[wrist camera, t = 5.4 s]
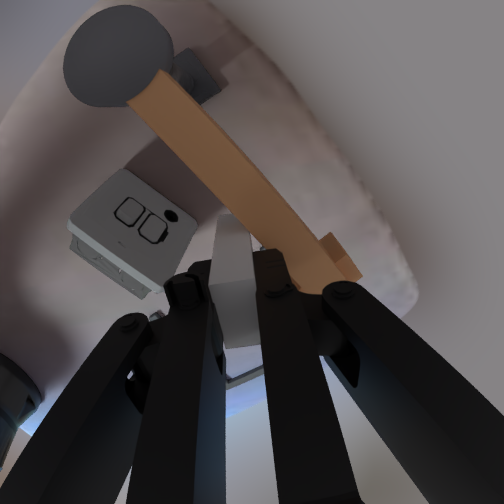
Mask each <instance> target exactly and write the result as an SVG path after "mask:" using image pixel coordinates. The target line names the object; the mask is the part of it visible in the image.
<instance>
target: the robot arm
mask: <svg viewBox="0 0 504 504" xmlns="http://www.w3.org/2000/svg"><path fill="white" fill-rule="evenodd" d="M163 288H164V291H165V294H166V296H167V299H168V302H169V305H170V309H169V313H168V315H166V316H164V317H161V318H159V319H156V320H153V321H149V320H148V318H147V316H146V315H144V314H142V313H130V314H126V315H124V316H123V317H121V318H119V319H118V320H117V321H116V322H115V323H114V324H113V325H112V326H111V327H110V329H109V330H108V331H107V332H106V334H105V335H104V336H103V338H102V339H101V340H100V342H99V343H98V344H97V346H96V347H95V348H94V349H93V351H92V352H91V353H90V355H89V356H88V357H87V359H86V360H85V361H84V363H83V364H82V365H81V367H80V368H79V370H78V371H77V372H76V374H75V375H74V376H73V378H72V379H71V381H70V382H69V383H68V385H67V386H66V387H65V389H64V390H63V392H62V393H61V395H60V396H59V397H58V399H57V400H56V402H55V403H54V405H53V406H52V407H51V409H50V410H49V412H48V413H47V415H46V416H45V418H44V419H43V421H42V422H41V424H40V425H39V427H38V428H37V430H36V431H35V433H34V434H33V436H32V437H31V439H30V440H29V442H28V443H27V445H26V447H25V448H24V450H23V451H22V453H21V455H20V456H19V458H18V459H17V461H16V463H15V464H14V466H13V467H12V469H11V471H10V472H9V474H8V476H7V477H6V479H5V481H4V483H3V484H2V486H1V488H0V504H114V503H115V501H116V499H117V497H118V495H119V492H120V490H121V488H122V486H123V484H124V482H125V479H126V477H127V475H128V473H129V471H130V469H131V466H132V470H131V476H130V482H129V487H128V493H127V499H126V504H226V466H225V465H226V461H225V460H226V458H225V413H226V357H225V354H224V350H223V341H224V344H225V348H226V349H230V348H238V347H245V346H252V345H259V344H261V350H262V359H263V368H264V376H265V385H266V394H267V403H268V412H269V420H270V429H271V438H272V446H273V454H274V463H275V472H276V481H277V490H278V498H279V504H365V503H364V502H363V501H362V500H361V498H360V496H359V492H358V489H357V485H356V482H355V478H354V474H353V471H352V467H351V464H350V460H349V456H348V452H347V449H346V445H345V442H344V438H343V435H342V432H341V428H340V424H339V421H338V418H337V414H336V411H335V407H334V404H333V401H332V397H331V394H330V391H329V387H328V384H327V381H326V377H325V374H324V371H323V368H322V364H321V361H320V358H319V356H323V357H324V359H325V361H326V363H327V364H328V365H329V367H330V368H331V370H332V371H333V372H334V374H335V375H336V376H337V378H338V379H339V381H340V382H341V383H342V385H343V386H344V387H345V389H346V390H347V392H348V393H349V394H350V396H351V397H352V399H353V400H354V401H355V402H356V404H357V405H358V407H359V408H360V409H361V411H362V412H363V414H364V415H365V416H366V418H367V419H368V421H369V422H370V423H371V425H372V426H373V427H374V429H375V430H376V432H377V433H378V434H379V436H380V437H381V438H382V440H383V441H384V442H385V444H386V445H387V447H388V448H389V449H390V450H391V452H392V453H393V455H394V456H395V458H396V459H397V460H398V461H399V463H400V464H401V466H402V467H403V468H404V470H405V471H406V472H407V474H408V475H409V477H410V478H411V479H412V481H413V482H414V483H415V485H416V486H417V488H418V489H419V490H420V492H421V493H422V494H423V496H424V497H425V498H426V500H427V501H428V502H429V504H504V416H503V415H502V414H501V413H500V412H499V411H498V410H497V409H496V408H495V407H494V406H493V405H492V404H491V403H490V402H489V401H488V400H487V399H486V398H485V397H484V396H483V395H482V394H481V393H480V392H479V391H478V390H477V389H475V387H474V386H473V385H472V384H471V383H470V382H468V381H467V380H466V379H465V378H464V377H463V376H462V375H461V374H460V373H459V372H458V371H457V370H456V369H455V368H454V367H452V366H451V365H450V364H449V363H448V362H447V361H446V360H445V359H444V358H443V357H442V356H441V355H440V354H438V353H437V352H436V351H435V350H434V349H433V348H432V347H431V346H430V345H428V344H427V343H426V342H425V341H424V340H423V339H422V338H421V337H420V336H418V335H417V334H416V333H415V332H414V331H413V330H412V329H411V328H410V327H408V326H407V325H406V324H405V323H404V322H403V321H402V320H401V319H399V318H398V317H397V316H396V315H395V314H394V313H392V312H391V311H390V310H389V309H388V308H387V307H386V306H384V305H383V304H382V303H381V302H380V301H379V300H377V299H376V298H375V297H374V296H373V295H372V294H370V293H369V292H368V291H367V290H366V289H365V288H363V287H362V286H361V285H359V284H357V283H356V282H352V281H345V280H344V281H343V280H342V281H336V282H332V283H330V284H328V285H326V286H325V287H324V288H323V290H322V294H307V293H303V292H301V291H299V290H297V287H296V286H295V284H293V283H292V281H291V278H290V275H289V272H288V269H287V265H286V262H285V260H284V256H283V253H282V252H281V251H279V250H278V249H276V248H274V249H267V250H261V251H255V252H253V247H252V241H251V235H250V232H249V231H248V230H247V228H246V227H245V226H244V225H243V224H242V223H241V222H240V221H239V220H238V219H237V218H236V217H235V216H234V215H233V214H232V213H231V214H225V215H220V216H218V220H217V227H216V234H215V241H214V248H213V255H212V259H211V260H205V261H198V262H194V263H193V264H192V265H191V266H190V267H189V268H188V271H187V272H184V273H180V274H177V275H175V276H173V277H171V278H169V279H168V280H167V281H166V282H165V283H164V285H163ZM130 371H132V373H133V375H132V377H131V378H130V379H128V378H127V376H128V374H129V373H130ZM40 402H41V396H40V393H39V391H38V389H37V387H36V386H35V384H34V383H33V382H32V380H31V379H30V378H29V377H28V376H27V375H26V374H25V373H24V372H23V371H22V370H21V369H20V368H19V367H18V366H17V365H16V364H15V363H13V362H12V361H11V360H9V359H8V358H6V357H5V356H3V355H2V354H0V471H1V470H2V466H3V464H4V461H5V459H6V456H7V453H8V451H9V448H10V446H11V443H12V441H13V439H14V436H15V434H16V432H17V430H18V428H19V426H20V425H22V424H23V423H24V422H25V421H26V420H27V419H28V418H29V417H30V416H31V415H33V414H34V413H35V412H36V410H37V409H38V407H39V405H40ZM132 464H133V465H132Z"/></svg>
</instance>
